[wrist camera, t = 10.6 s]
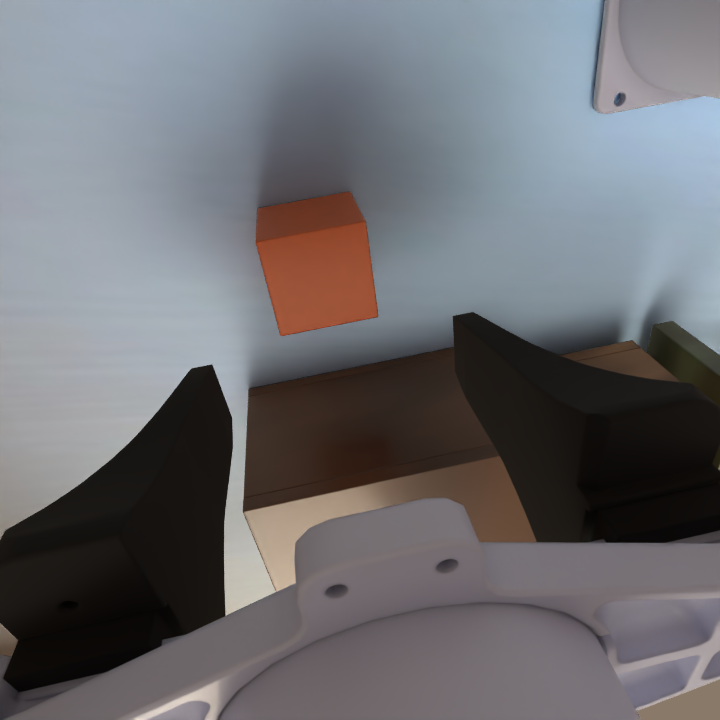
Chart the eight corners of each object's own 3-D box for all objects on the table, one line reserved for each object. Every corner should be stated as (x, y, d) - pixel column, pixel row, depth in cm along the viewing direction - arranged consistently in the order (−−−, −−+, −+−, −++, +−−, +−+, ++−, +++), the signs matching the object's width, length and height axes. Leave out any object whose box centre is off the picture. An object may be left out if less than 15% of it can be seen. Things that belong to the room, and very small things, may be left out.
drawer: (754, 303, 28) (872, 369, 23) (704, 445, 35) (787, 524, 29) (449, 366, 27) (495, 451, 22) (454, 500, 34) (491, 593, 28)
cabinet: (495, 338, 28) (571, 440, 21) (492, 487, 35) (548, 601, 28) (248, 388, 27) (242, 511, 20) (295, 531, 34) (303, 658, 27)
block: (350, 191, 22) (366, 220, 19) (362, 276, 25) (378, 317, 21) (256, 207, 22) (255, 241, 19) (278, 293, 24) (280, 337, 21)
